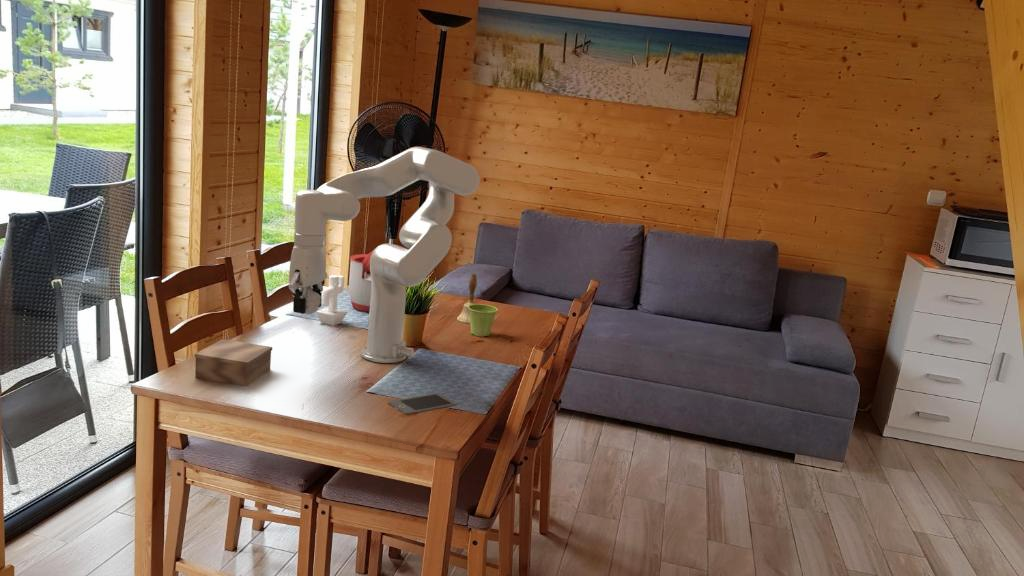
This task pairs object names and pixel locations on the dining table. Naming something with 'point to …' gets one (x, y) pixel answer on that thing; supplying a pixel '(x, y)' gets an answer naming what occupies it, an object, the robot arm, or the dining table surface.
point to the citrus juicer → (360, 281)
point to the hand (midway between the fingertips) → (307, 308)
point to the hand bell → (465, 313)
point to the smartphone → (421, 403)
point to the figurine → (332, 302)
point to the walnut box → (233, 362)
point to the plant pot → (481, 319)
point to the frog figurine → (311, 301)
